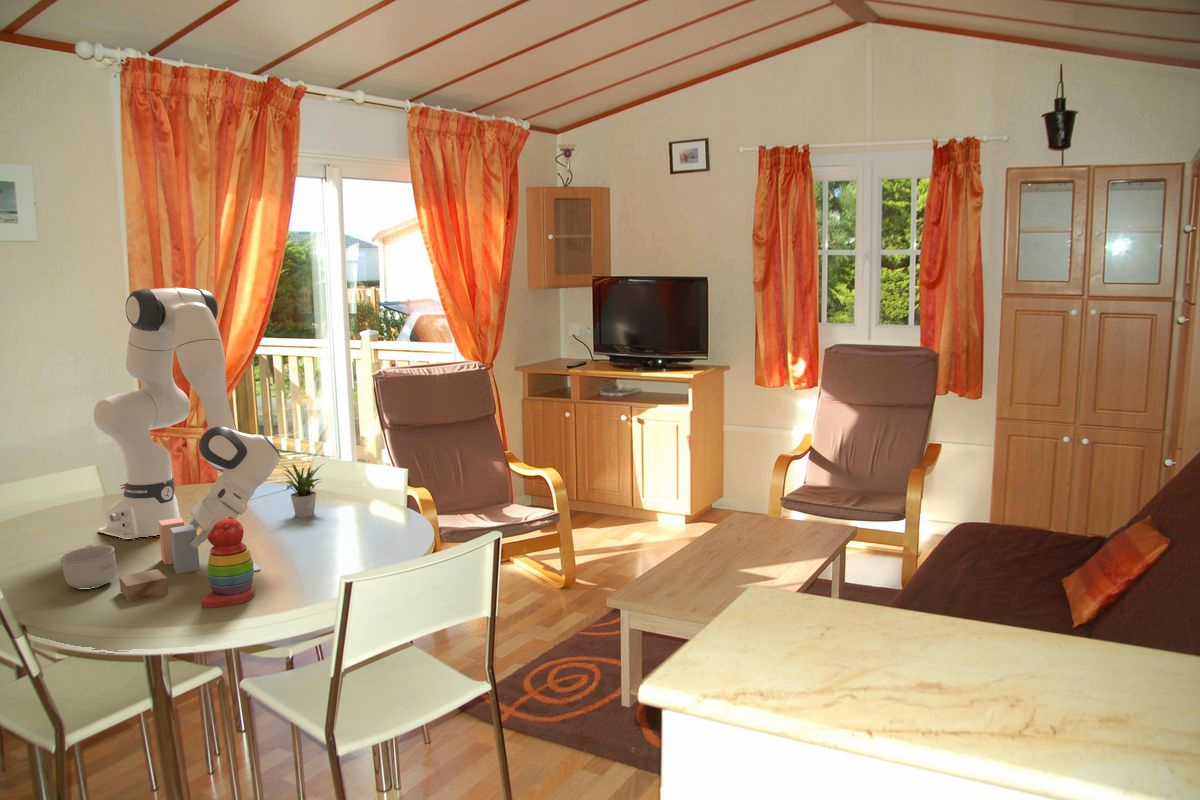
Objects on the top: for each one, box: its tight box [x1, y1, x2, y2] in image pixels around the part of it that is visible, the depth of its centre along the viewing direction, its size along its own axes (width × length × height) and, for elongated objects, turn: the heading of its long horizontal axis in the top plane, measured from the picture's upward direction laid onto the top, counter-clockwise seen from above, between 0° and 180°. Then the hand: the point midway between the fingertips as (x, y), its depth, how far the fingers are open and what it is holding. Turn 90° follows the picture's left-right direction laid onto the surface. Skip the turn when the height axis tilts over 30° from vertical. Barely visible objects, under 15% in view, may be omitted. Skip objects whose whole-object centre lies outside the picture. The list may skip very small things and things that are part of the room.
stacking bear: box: [201, 516, 256, 608], centre depth 201 cm, size 11×10×18 cm
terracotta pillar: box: [158, 517, 185, 565], centre depth 229 cm, size 5×5×10 cm
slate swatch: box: [253, 562, 261, 573], centre depth 221 cm, size 6×6×1 cm
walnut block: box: [118, 568, 169, 603], centre depth 206 cm, size 8×8×4 cm
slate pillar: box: [170, 524, 201, 575], centre depth 222 cm, size 5×5×10 cm
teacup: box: [60, 544, 117, 589], centre depth 213 cm, size 14×11×8 cm
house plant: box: [280, 459, 325, 518], centre depth 268 cm, size 14×14×16 cm
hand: (188, 541), depth 222 cm, fingers open, 8 cm apart
